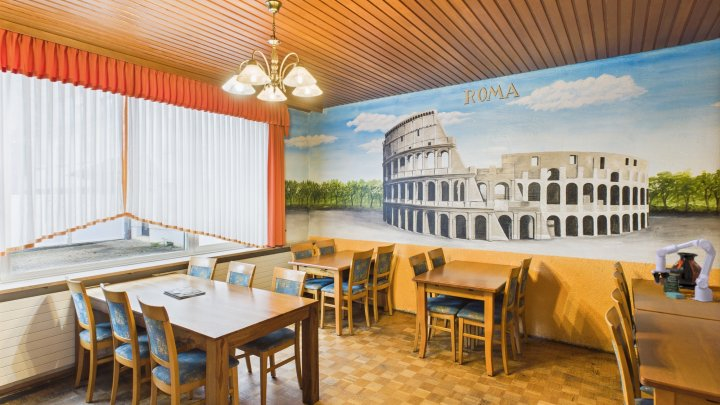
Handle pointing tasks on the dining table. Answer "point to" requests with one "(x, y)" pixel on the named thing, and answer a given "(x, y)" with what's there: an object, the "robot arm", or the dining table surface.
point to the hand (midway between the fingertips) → (660, 282)
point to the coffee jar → (672, 281)
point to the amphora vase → (687, 270)
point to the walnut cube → (661, 281)
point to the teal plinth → (675, 295)
